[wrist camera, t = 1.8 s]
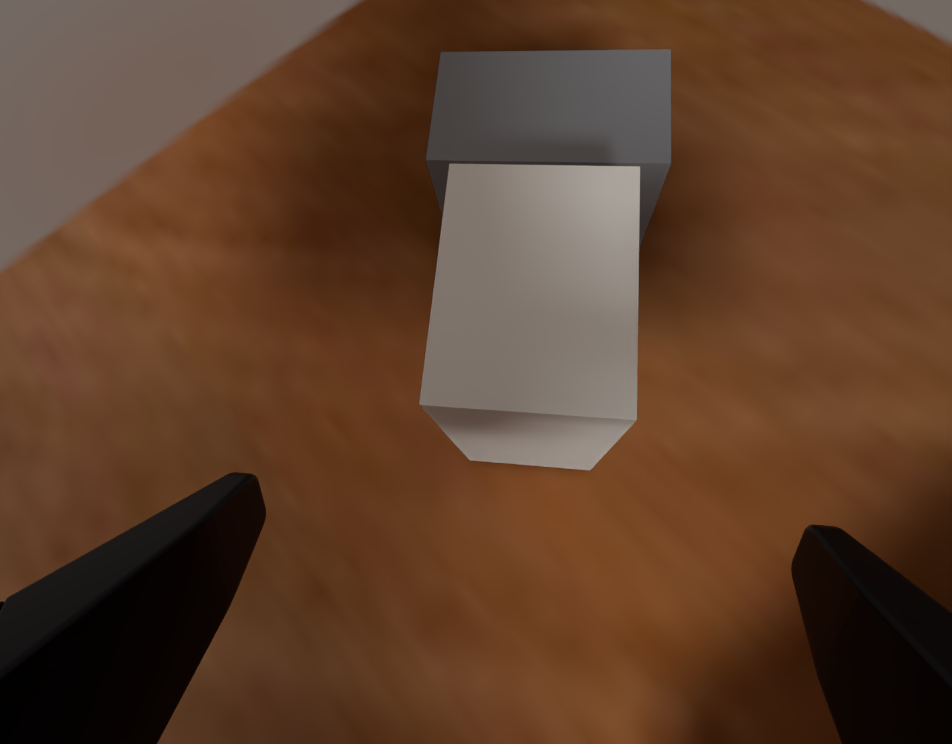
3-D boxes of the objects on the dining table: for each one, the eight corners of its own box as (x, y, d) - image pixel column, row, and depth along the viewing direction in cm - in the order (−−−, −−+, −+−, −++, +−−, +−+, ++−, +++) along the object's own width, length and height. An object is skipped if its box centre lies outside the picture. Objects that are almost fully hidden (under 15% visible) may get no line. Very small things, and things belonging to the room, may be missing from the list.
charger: (589, 470, 20) (636, 420, 11) (469, 460, 21) (419, 404, 12) (599, 219, 23) (642, 15, 14) (493, 217, 23) (467, 18, 14)
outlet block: (627, 281, 22) (671, 163, 15) (459, 274, 23) (425, 160, 16) (628, 196, 23) (670, 49, 16) (468, 193, 24) (440, 51, 17)
